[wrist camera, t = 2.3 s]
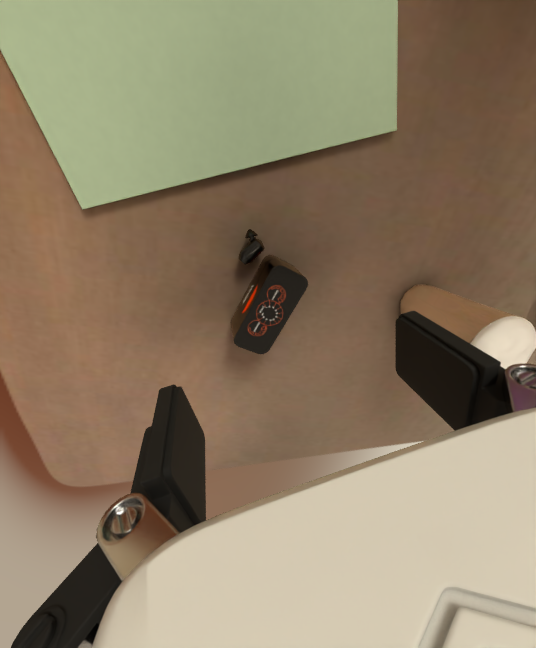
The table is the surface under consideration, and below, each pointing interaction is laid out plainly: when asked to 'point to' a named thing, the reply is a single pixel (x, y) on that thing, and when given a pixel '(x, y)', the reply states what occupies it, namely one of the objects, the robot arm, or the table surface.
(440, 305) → the milkshake
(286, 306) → the wireless earbuds
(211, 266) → the table surface
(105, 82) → the desk mat
